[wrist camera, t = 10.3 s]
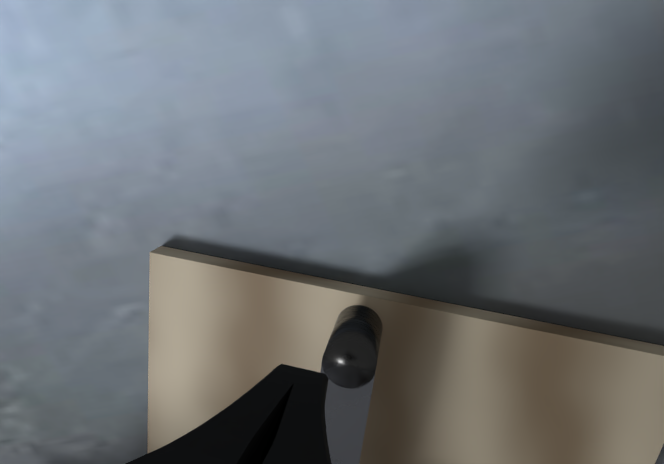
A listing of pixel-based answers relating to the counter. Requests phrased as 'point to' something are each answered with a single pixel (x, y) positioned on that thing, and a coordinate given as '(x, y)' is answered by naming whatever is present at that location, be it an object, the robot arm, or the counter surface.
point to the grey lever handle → (350, 380)
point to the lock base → (402, 368)
